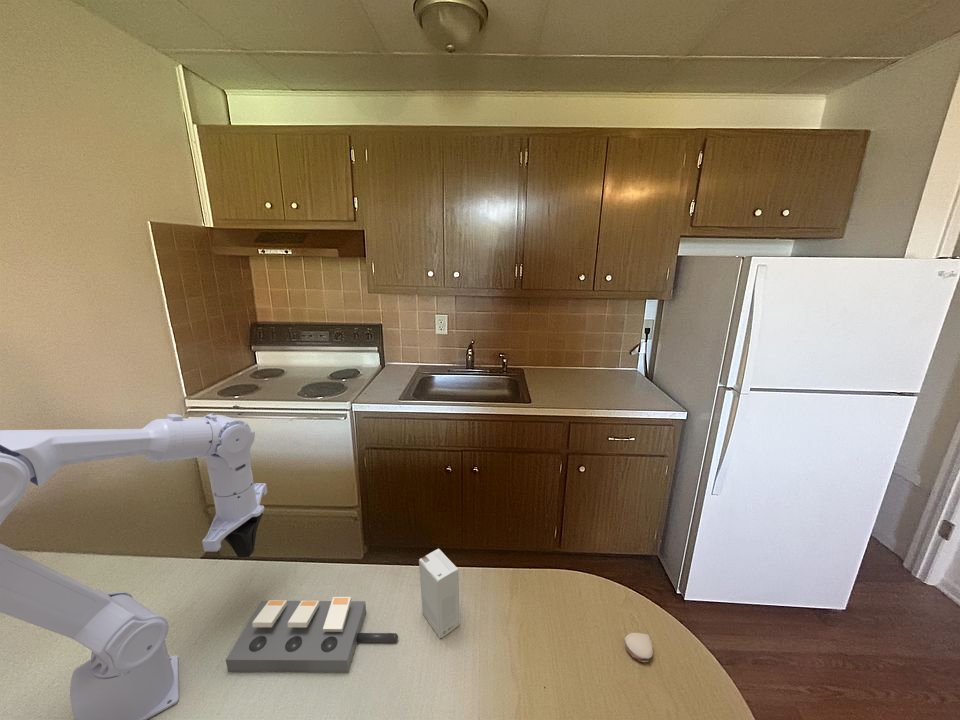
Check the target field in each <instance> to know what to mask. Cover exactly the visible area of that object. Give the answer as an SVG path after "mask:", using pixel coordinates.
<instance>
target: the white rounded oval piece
mask: <svg viewBox="0 0 960 720" xmlns="http://www.w3.org/2000/svg"><path fill="white" fill-rule="evenodd" d="M650 637H651V636H649V635H648V634H647V633H641V632H631V633H627V635H626V636H625V638H624V642H623V643H624V647H625V649H626V651H627V653H628V654H629V655H630V656H631V657H632V658H634V659H636V660H637V661H639V662H643V663H646V662H649V661H650V660H651V659H652V657H653V655H654V652H653V651H654V649H653V643H652V641H651V638H650Z"/></svg>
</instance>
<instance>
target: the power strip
mask: <svg viewBox="0 0 960 720" xmlns="http://www.w3.org/2000/svg"><path fill="white" fill-rule="evenodd" d="M268 601H269V600H265V599H263V600H260V602H259V603H258V605H257V607H256V609H255V610H254V611H253V614H252V615H251V617H250V619H249V620H248V622H247V623H246V625H245V626H244V629H243V630H242V632H241V633H240V635H239V637H238V638H237V640H236V642H235V643H234V645H233V647H232V648H231V650H230V652H229V653H228V655H227V656H226V658H225V662H226V667H227V672H228V673H335V674H336V673H338V674H339V673H340V674H342V673H346V674H347V673H349V672H350V668H351V664H352V661H353V657H354V655H355V651H356V648H357V645H358V643H396V642H397V641H398V639H399V635H398V633H396V632H395V633H394V632H361V631H362V628H363V624H364V621H365V618H366V614H367V606H366V600H365V601H363V600H362V601H361V600H357V601H356V600H351V603H350V607H349V610H348V614H347V618H346V621H345V625H344V628H343V632H324V631H323V627H324V624H325V620H326V617H327V614H328V611H329V608H330V605H331V602H332V600H318V601H319V607H318V609H317V610H316V612H315V614H314V616H313V617H312V619H311V621H310V623H309V624H308V626H307V627H288V621H289V619H290V618H291V616H292V615H293V613H294V612H295V610H296V609H297V607H298V606H299V604H300V603H301V601H302V600H287V606H286V607H285V609H284V610H283V611H282V613H281V614H280V616H279V617H278V619H277V620H276V622H275V623H274V625H273V626H272V627H253V626H252V622H253V621H254V620H255V618H256V617H257V616H258V614H259V613H260V612H261V610H262V609H263V608H264V606H265V605H266V604H267V603H268Z"/></svg>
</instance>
